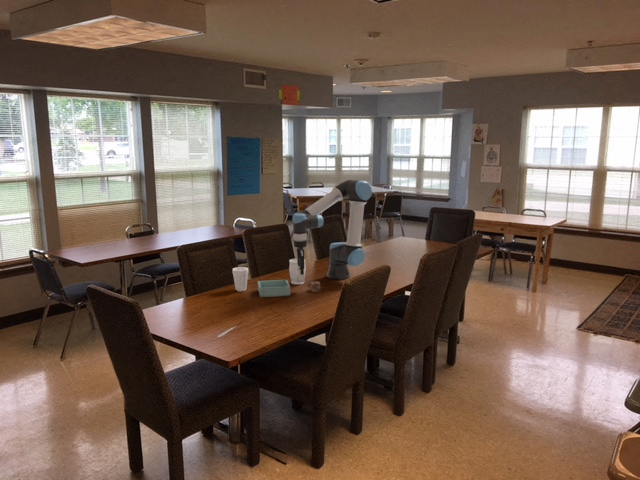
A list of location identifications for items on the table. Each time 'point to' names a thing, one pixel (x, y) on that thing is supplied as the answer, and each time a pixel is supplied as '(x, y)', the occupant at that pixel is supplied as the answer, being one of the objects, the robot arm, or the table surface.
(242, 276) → the foam cup
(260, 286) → the tote
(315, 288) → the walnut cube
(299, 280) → the ceramic canister
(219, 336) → the butter knife
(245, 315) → the table surface
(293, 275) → the jar
